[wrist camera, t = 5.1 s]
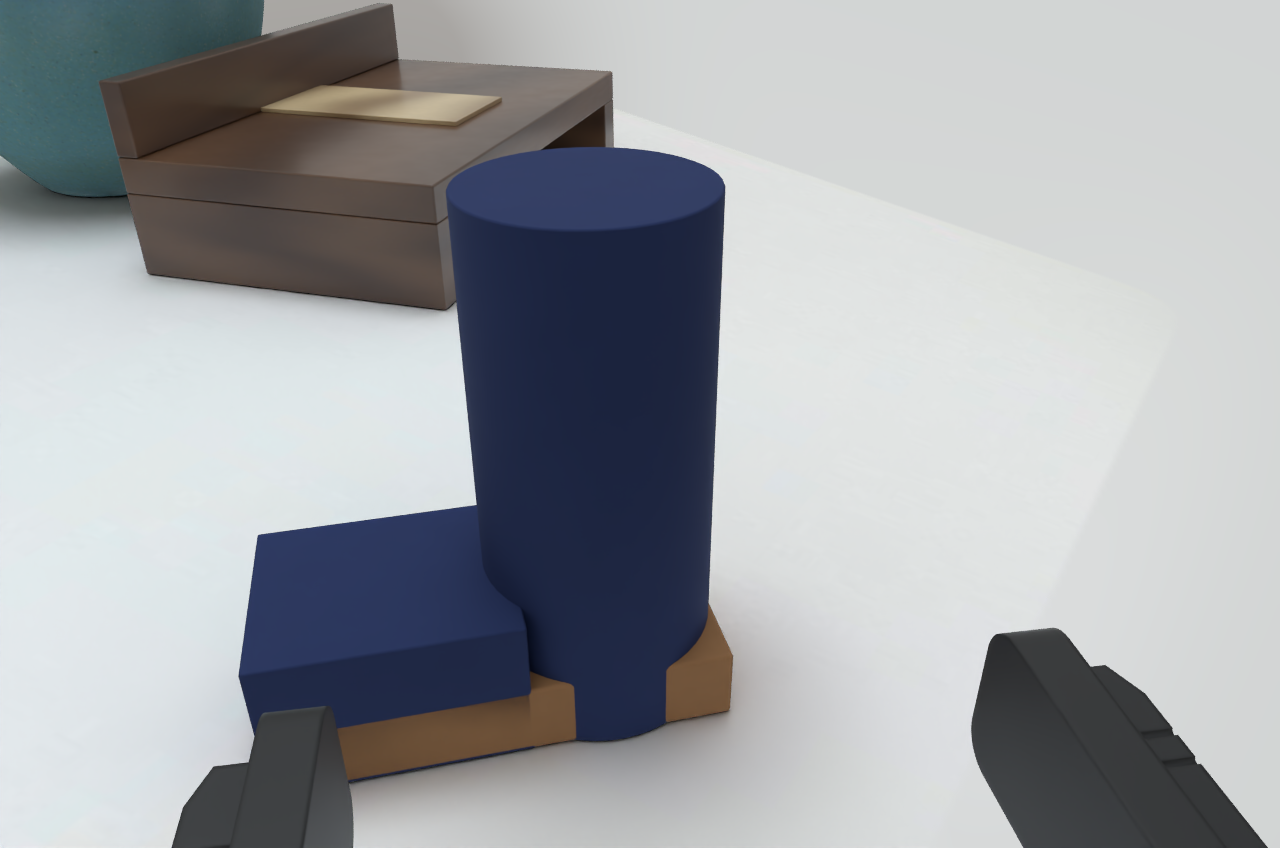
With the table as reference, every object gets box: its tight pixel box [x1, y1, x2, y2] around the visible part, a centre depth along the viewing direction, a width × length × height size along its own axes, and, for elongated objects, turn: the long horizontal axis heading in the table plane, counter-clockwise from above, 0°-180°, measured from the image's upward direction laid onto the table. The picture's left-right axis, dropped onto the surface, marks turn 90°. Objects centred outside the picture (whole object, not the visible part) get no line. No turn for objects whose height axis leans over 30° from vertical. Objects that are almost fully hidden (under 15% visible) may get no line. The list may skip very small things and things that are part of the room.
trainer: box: [239, 147, 733, 782], centre depth 20 cm, size 9×5×11 cm, turn 104°
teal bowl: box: [0, 0, 264, 197], centre depth 53 cm, size 18×18×12 cm
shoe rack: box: [99, 3, 614, 310], centre depth 49 cm, size 14×22×8 cm, turn 164°
